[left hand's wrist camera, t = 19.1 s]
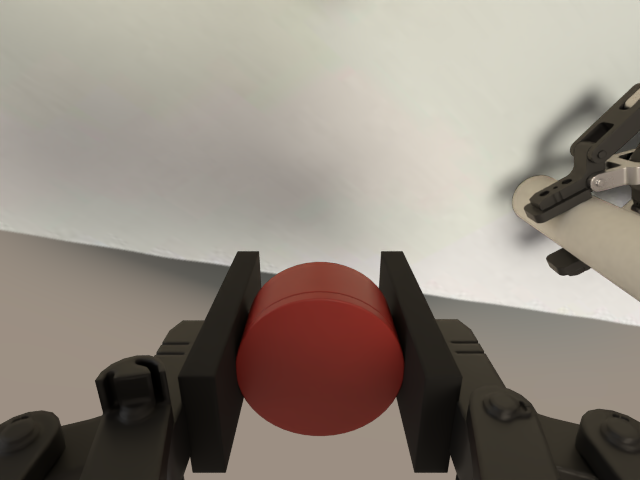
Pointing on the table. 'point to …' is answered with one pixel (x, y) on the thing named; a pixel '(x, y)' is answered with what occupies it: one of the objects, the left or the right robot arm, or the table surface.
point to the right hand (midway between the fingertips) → (543, 241)
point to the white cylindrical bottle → (591, 234)
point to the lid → (319, 351)
